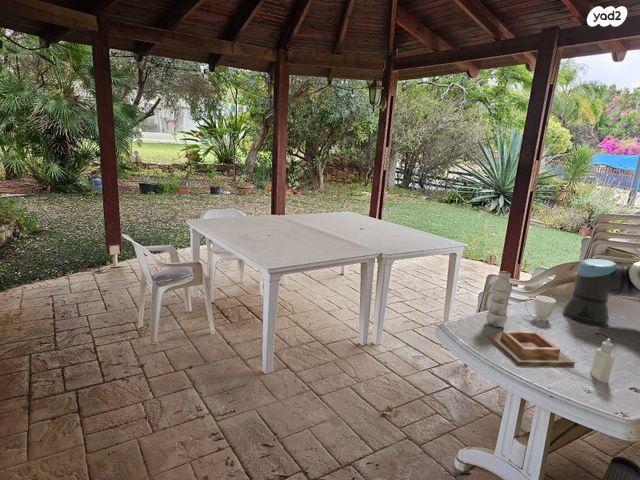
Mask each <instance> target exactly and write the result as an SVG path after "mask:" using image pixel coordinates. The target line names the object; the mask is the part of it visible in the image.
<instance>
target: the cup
mask: <svg viewBox="0 0 640 480" xmlns="http://www.w3.org/2000/svg"><path fill="white" fill-rule="evenodd" d="M530 300H533V301H535V308H534V309H535V314H533V313H532V312H531V311H530V310H529V308H527V304H528V302H529V301H530ZM556 303H557V301H556V299H555V298H553V297H549V296H546V295H536V296H535V297H530V298H528V299H526V301H525V303H524V308H525V310H526V311H527V313H529V314H530V315H531V316H533V317H534V318H536V319H538V320H540V321H545V322H546V321H549V318H550V317H551V315H552V313H553V312H554V311H553V310H554V308H555V306H556Z"/></svg>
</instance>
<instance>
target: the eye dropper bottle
mask: <svg viewBox="0 0 640 480" xmlns="http://www.w3.org/2000/svg"><path fill="white" fill-rule="evenodd" d="M613 347H614V345H613V344H612V343H611V339H610V338H606V340H605V341H602V342H601V346H600V348H596V349H595V352H594V355H593V359H592V364H591V367H590V375H591V376H592V378H593V379H595V380H596V381H598V382H601V383H608V382H609V380H610V377H611V373H612V369H613V365H614V361H615V357H614V355H613V353H612V349H613Z"/></svg>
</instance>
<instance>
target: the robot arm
mask: <svg viewBox="0 0 640 480" xmlns="http://www.w3.org/2000/svg"><path fill="white" fill-rule="evenodd" d="M610 296H614V297H615V296H616V297H624V298H625V297H626V298H635V299H640V261H637V262H634V263H631V264H630V265H618V264H617V263H616V262H614V261H611V260H607V259H601V258H589V259H583V260H581V261H580V262H579V264H578V267H577V270H576V276H575V280H574V284H573V289H572V293H571V296H570V298H569V299H568V301H567V303H566V304H565V305H564V306H563V310H562V315H563V316H565V317H566V318H567V319H569V320H571V321H573V322H576V323H580V324H583V325H587V326H592V327H593V326H594V327H605V326H608V324H609V321H610V316H609V309H608V302H609V297H610Z"/></svg>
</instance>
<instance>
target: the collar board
mask: <svg viewBox="0 0 640 480" xmlns="http://www.w3.org/2000/svg"><path fill="white" fill-rule="evenodd" d="M486 337H487V339H488V340H490V341H491V342H492V343H493V344H494V345H495V346H496V347H498V349H500V351H501V352H503V353H504V354H505V355H506V356H507V357H508V358H509V359H510V360H511V361H513V362H514V363H515V364H516V365H517V366H518V367H519V366H521V367H522V366H523V367H524V366H525V367H528V366H530V367H531V366H532V367H533V366H534V367H540V366H541V367H542V366H543V367H547V366H548V367H574V366H575V363H576V362H575V361H574V360H573V359H571V358H569V356H568V355H566V354H564V353H563V352H562V351H561V348H559V347H558V346H556V345H555V344H554V343H553V342H551V341H549V340H548V339H547V338H546V337H544V336H543V335H542V334H540V333H538V332H537V331H535V330H534V331H532V330H530V331H527V330H522V331H521V330H515V331H514V330H502V331H501V333H487V335H486Z"/></svg>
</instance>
